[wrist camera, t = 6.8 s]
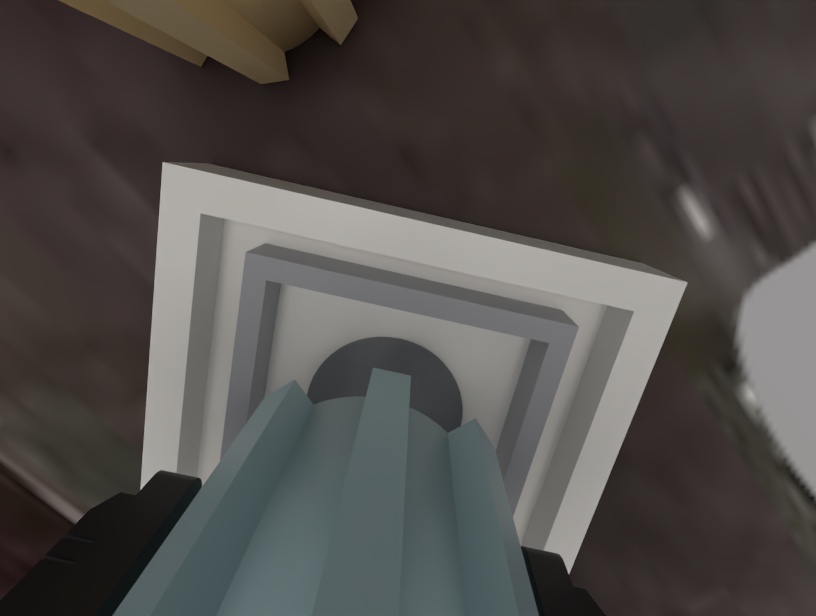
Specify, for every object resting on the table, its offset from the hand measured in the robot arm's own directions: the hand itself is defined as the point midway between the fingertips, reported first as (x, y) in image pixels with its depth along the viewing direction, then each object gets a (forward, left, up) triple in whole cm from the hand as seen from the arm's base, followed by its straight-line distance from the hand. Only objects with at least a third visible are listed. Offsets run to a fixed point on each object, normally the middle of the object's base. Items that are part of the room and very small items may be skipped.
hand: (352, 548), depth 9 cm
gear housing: (0, +4, -7) cm, 8 cm away
